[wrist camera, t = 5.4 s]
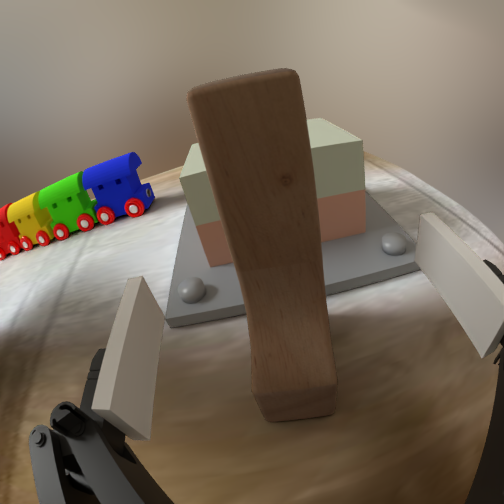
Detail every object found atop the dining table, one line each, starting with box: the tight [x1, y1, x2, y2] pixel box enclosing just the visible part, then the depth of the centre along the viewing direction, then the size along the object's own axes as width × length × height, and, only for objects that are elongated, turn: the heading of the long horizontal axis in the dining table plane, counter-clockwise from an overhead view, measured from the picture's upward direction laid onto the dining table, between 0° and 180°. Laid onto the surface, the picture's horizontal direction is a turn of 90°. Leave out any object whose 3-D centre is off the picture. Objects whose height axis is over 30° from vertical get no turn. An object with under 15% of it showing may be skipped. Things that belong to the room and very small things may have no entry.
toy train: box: [0, 152, 155, 260], centre depth 48 cm, size 45×7×11 cm, turn 95°
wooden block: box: [186, 68, 338, 422], centre depth 15 cm, size 9×4×18 cm, turn 179°
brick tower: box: [165, 118, 420, 328], centre depth 31 cm, size 24×24×11 cm
